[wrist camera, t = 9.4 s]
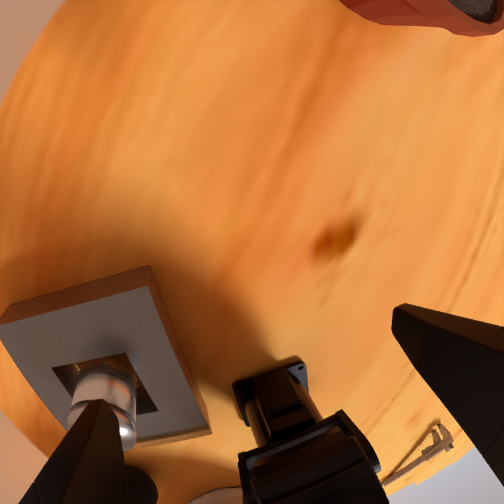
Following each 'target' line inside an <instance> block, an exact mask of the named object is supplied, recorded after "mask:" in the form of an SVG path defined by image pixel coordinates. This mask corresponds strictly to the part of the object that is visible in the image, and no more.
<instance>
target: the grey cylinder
mask: <svg viewBox="0 0 504 504" xmlns="http://www.w3.org/2000/svg"><path fill="white" fill-rule="evenodd" d="M136 389H137V373H136V371H135V369H134V367H133V365H132V364H131V362H130V360H129V358H128V356H127V354H126V352H125V353H120V354H116V355H111V356H106V357H102V358H97V359H92V360H87V361H82V365H81V369H80V372H79V376H78V380H77V384H76V388H75V392H74V396H73V401H72V405H71V408H70V411H69V415H68V420H67V430H68V431H69V430H70V428H71V427H72V425H73V424H74V423H75V421H76V420H77V418H78V417H79V416H80V414H81V413H82V411H83V410H84V409H85V407H86V406H87V405H88V403H89V402H90V401H91V400H95V399H104V400H105V401H106V402H107V403H108V405H109V406H110V407H111V409H112V410H113V411H114V413H115V414H116V416H117V418H118V420H119V426H120V433H121V440H122V447H123V452H125V451H128V450H129V449H131V448H132V447H133V446H134V445H135V443H136Z"/></svg>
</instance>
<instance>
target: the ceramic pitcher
mask: <svg viewBox="0 0 504 504" xmlns="http://www.w3.org/2000/svg"><path fill="white" fill-rule="evenodd" d="M187 504H243V503H242V487H236V488H217V489H215V490H213V491H211V492H209V493H206V494H204V495H202V496H200V497H197V498H195V499H193V500H192V501H191V502H189V503H187Z"/></svg>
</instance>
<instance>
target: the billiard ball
mask: <svg viewBox="0 0 504 504" xmlns="http://www.w3.org/2000/svg"><path fill="white" fill-rule="evenodd" d="M126 478H127V490H128V501H129V504H156V503H157V500H158V491H157V487H156V485H155V483H154V481H153V480H152V479H151V477H150V476H149V475H147V474H146V473H145V472H143V471H141V470H139V469H137V468H133V467H126Z"/></svg>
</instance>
